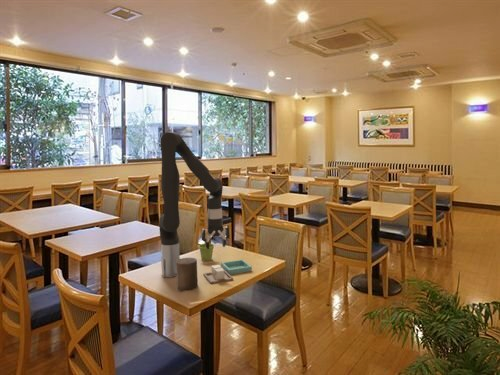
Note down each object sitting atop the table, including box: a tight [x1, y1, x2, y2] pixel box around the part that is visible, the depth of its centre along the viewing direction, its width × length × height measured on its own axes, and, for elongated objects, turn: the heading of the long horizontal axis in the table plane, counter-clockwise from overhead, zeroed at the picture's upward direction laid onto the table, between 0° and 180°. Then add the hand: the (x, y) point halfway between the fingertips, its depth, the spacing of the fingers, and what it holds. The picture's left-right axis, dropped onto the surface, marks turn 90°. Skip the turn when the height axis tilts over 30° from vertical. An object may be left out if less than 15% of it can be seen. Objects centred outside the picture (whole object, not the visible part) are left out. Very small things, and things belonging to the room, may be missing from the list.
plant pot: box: [198, 243, 215, 262], centre depth 212 cm, size 9×9×9 cm
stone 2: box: [215, 267, 225, 280], centre depth 179 cm, size 4×4×5 cm
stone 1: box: [211, 264, 222, 277], centre depth 184 cm, size 4×4×5 cm
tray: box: [202, 269, 234, 285], centre depth 182 cm, size 12×13×2 cm
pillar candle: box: [176, 257, 199, 292], centre depth 170 cm, size 10×10×15 cm
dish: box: [220, 259, 253, 275], centre depth 194 cm, size 13×13×3 cm
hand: (216, 247), depth 182 cm, fingers open, 8 cm apart
